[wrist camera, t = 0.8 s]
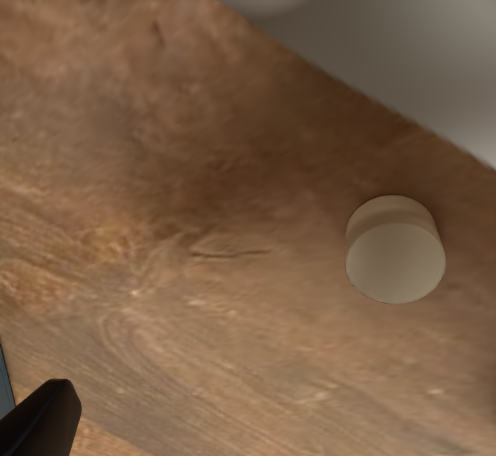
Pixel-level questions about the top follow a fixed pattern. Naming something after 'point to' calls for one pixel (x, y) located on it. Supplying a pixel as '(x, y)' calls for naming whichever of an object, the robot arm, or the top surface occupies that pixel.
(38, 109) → the top surface
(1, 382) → the divided tray
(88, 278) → the top surface
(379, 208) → the cylinder
